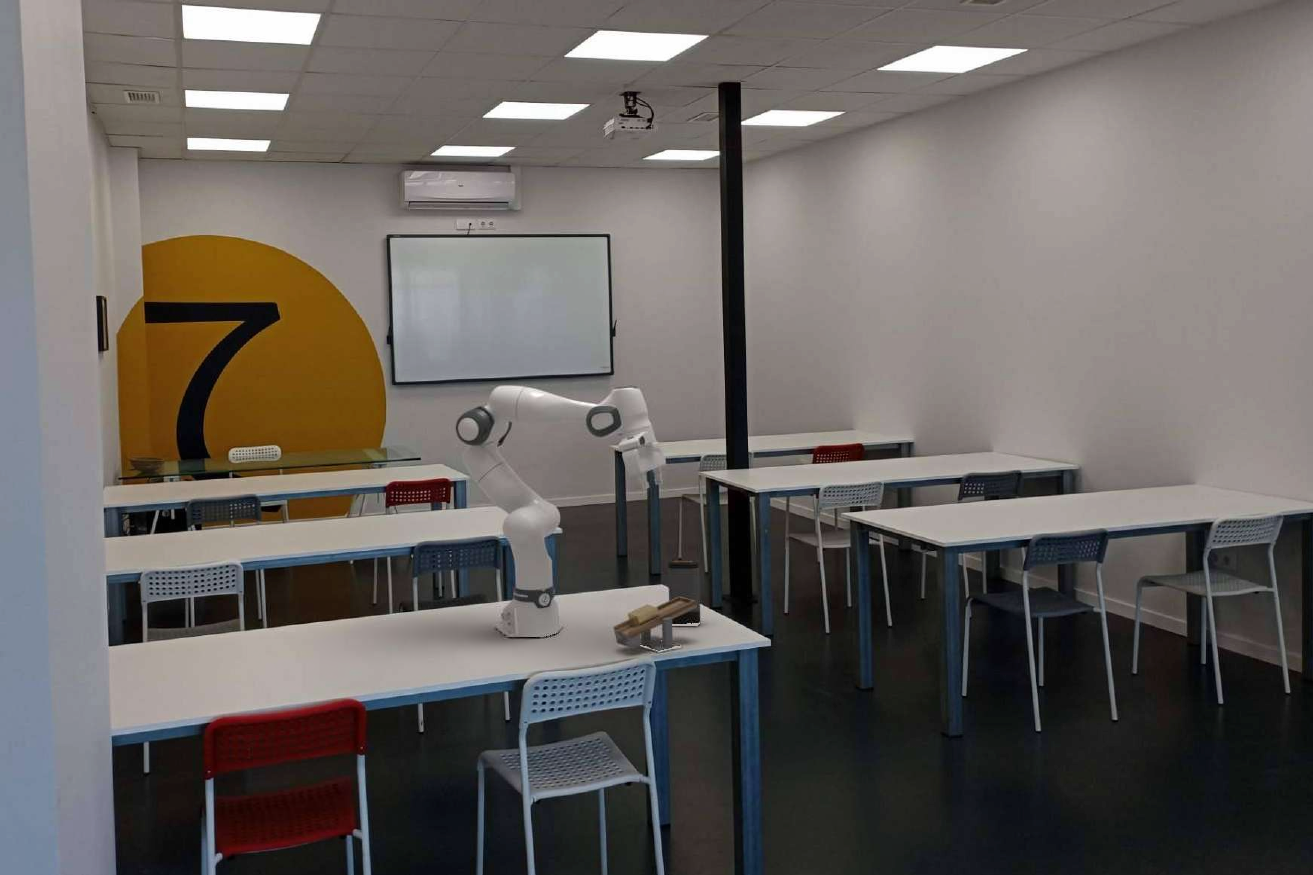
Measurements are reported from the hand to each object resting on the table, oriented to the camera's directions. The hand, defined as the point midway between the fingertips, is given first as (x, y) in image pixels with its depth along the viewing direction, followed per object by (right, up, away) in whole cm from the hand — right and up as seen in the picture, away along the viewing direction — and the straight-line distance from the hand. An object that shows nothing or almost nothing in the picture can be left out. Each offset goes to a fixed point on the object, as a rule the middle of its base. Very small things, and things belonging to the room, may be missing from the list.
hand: (652, 486), depth 323 cm
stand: (+1, -46, 0) cm, 46 cm away
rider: (-2, -38, -3) cm, 38 cm away
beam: (+2, -41, 0) cm, 41 cm away
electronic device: (+10, -44, +23) cm, 51 cm away
